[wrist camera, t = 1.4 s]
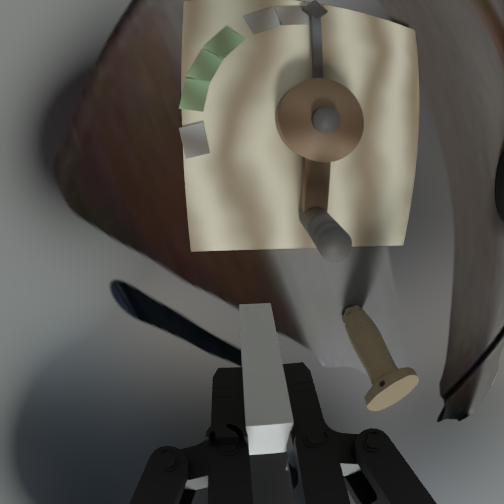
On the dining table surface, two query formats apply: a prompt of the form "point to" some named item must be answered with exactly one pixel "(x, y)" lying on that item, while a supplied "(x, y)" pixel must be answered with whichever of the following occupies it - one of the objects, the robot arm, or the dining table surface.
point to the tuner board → (265, 131)
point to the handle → (377, 361)
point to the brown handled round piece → (320, 141)
